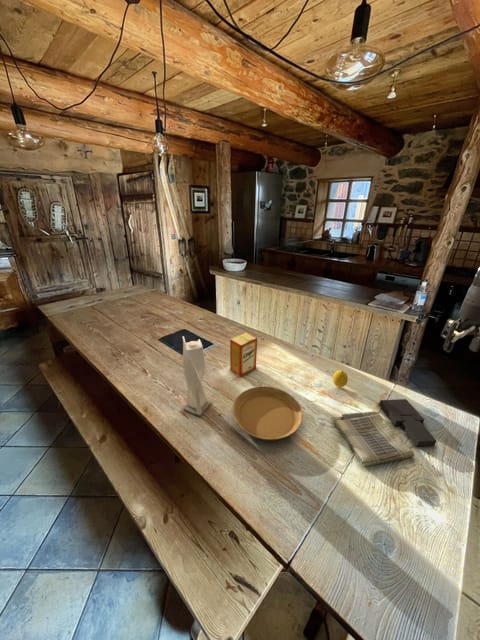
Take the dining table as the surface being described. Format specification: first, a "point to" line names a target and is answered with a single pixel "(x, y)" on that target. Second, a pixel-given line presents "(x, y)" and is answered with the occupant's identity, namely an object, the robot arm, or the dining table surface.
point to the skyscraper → (194, 376)
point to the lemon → (340, 378)
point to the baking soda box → (243, 354)
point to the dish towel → (372, 438)
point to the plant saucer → (267, 413)
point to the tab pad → (417, 432)
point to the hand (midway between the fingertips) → (459, 350)
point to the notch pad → (399, 410)
